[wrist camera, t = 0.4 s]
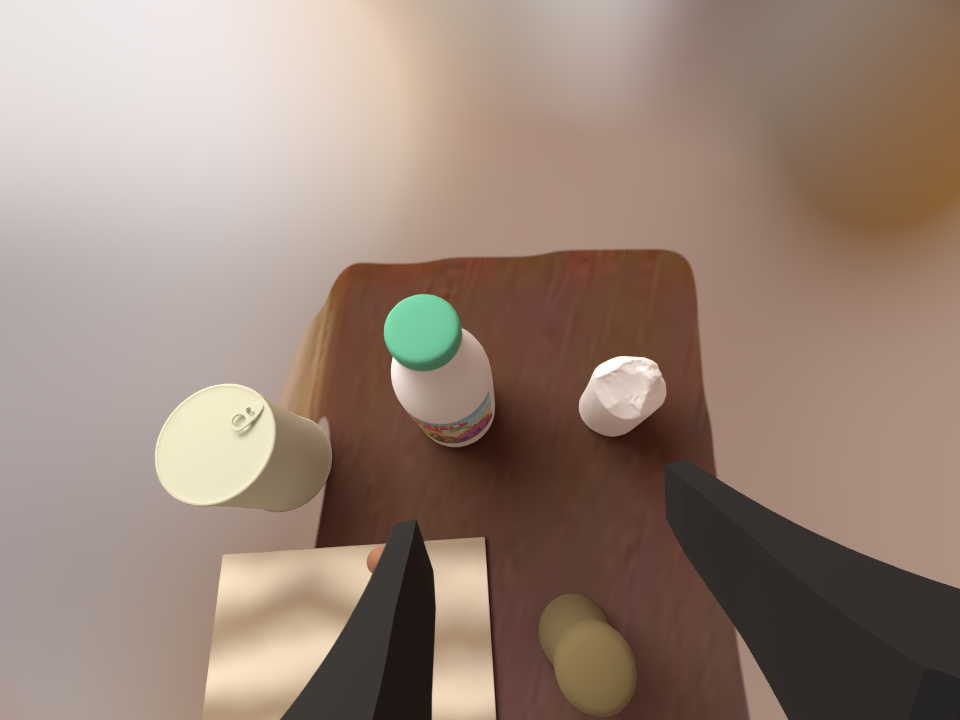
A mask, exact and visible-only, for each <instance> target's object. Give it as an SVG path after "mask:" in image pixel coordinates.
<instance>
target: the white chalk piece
mask: <svg viewBox="0 0 960 720" xmlns="http://www.w3.org/2000/svg"><path fill="white" fill-rule="evenodd" d="M665 397H666V383H665V381H664V380H663V378H662V374H661V372H660V370H659V369H658V365H657V364H656V363H655V362H653V361H652V360H649V359H647V358H639V357H627V356H620V357H616V358H613V359H610V360H608V361H606V362H604V363H602V364H600V365H599V366H598V367H597V368H596V369H595V371H594V372H593V374H592V377H591V379H590V382H589V384H588V386H587V388H586V390H585V391H584V393H583V395H582V396H581V398H580V401H579V412H580V416H581V418H582V420H583V421H584V423H585V424H586V425H587V426H588V427H589V428H590V429H592V430H594V431H595V432H597V433H599V434H602V435H605V436H620V435H623V434H626V433H627V432H629V431H631V430H632V429H633V428H635V427H636V426H637V425H638V424H640V423H641V422H642V421H643V420H645V419H646V418H647V417H649V416H650V415H651V414H652V413H653V412H654V411H655V410H657V409H658V408H659V407H660V406H661V405H662V404H663V403H664V399H665Z"/></svg>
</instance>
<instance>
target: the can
mask: <svg viewBox="0 0 960 720" xmlns="http://www.w3.org/2000/svg"><path fill="white" fill-rule="evenodd" d="M155 465H156V471H157V474H158V477H159V480H160V482H161V484H162V485H163V487H164V488H165V490H166V491H167V492H168V493H169V494H170V495H171V496H172V497H174V498H176V499H177V500H179V501H181V502H183V503H185V504H189V505H193V506H200V507H203V506H204V507H207V506H227V507H243V508H257V509H264V510H267V511H272V512H284V511H289V510H293V509H296V508H298V507H300V506H302V505H304V504H306V503H307V502H309V501H310V500H311V499H312V498H314V497H315V496H316V494H317V493H318V492H319V491H320V490H321V488H322V487H323V486H324V484H325V482H326V480H327V478H328V476H329V473H330V470H331V465H332V448H331V444H330V441H329V438H328V436H327V435H326V433H325V432H324V430H323V429H322V428H321V427H320V426H319V425H318V424H316V423H315V422H314V421H312V420H310V419H307V418H304V417H300V416H298V415H296V414H294V413H292V412H290V411H289V410H287V409H285V408H283V407H281V406H279V405H277V404H275V403H274V402H272V401H270V400H268V399H267V398H265V397H263V396H261V395H260V394H259V393H257V392H256V391H254V390H253V389H251V388H248V387H245V386H242V385H237V384H220V385H214V386H211V387H208V388H205V389H203V390H200V391H198V392H196V393H195V394H193V395H192V396H190V397H188V398H187V399H186V400H185V401H183V402H182V403H181V404H180V405H179V406H178V407H177V408H176V409H175V410H174V411H173V412H172V414H171V415H170V416H169V418H168V419H167V421H166V422H165V424H164V426H163V428H162V430H161V432H160V435H159V438H158V441H157V445H156V451H155Z"/></svg>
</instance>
